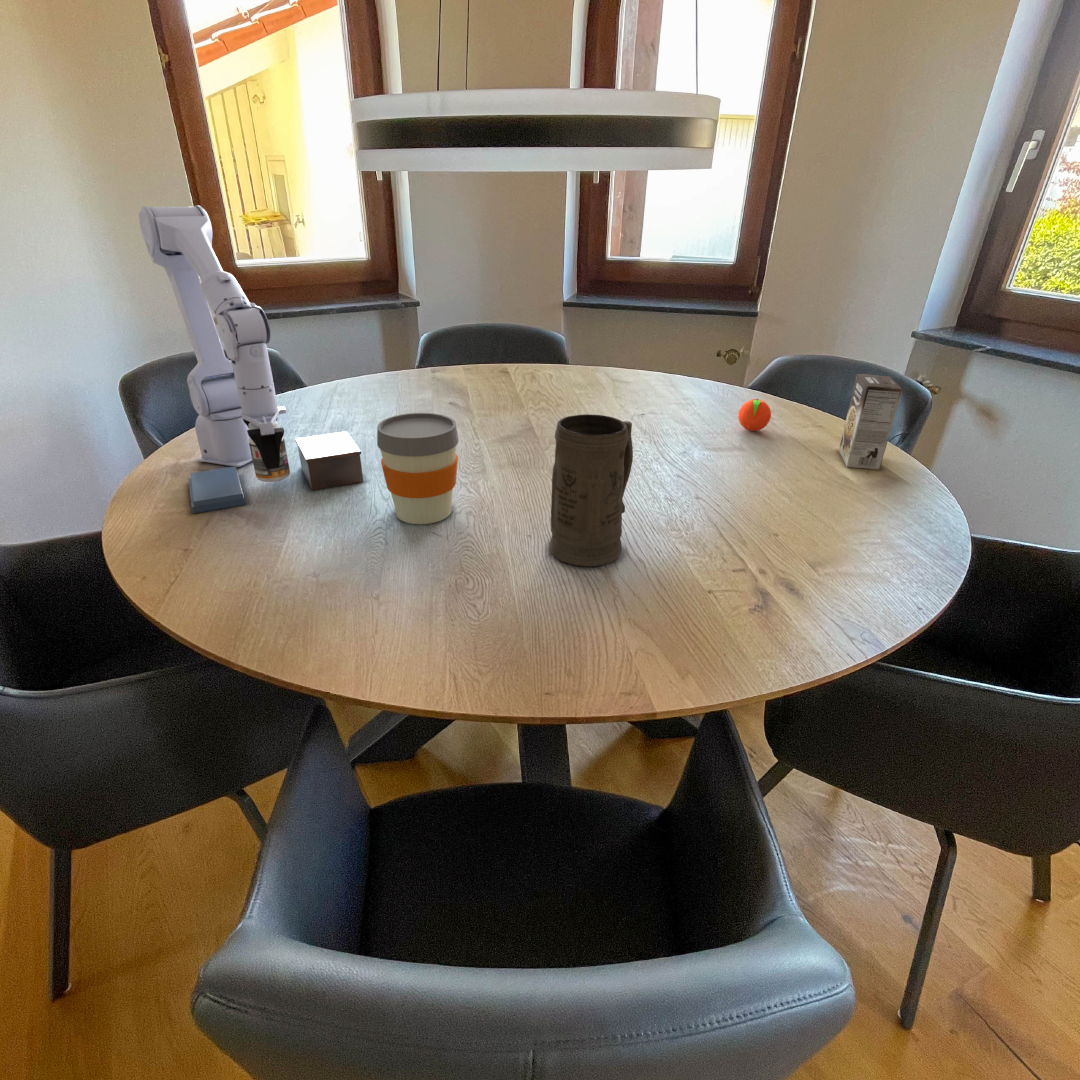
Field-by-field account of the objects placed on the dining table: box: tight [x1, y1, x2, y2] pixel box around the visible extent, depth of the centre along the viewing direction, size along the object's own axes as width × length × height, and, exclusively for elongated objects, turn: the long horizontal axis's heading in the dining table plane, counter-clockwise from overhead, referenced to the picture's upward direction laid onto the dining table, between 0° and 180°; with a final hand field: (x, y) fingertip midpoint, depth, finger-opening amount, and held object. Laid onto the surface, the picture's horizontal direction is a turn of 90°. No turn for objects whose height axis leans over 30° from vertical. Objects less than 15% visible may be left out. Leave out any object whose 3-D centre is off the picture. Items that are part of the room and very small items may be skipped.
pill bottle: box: [249, 420, 291, 483], centre depth 114 cm, size 6×6×10 cm
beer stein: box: [549, 413, 634, 567], centre depth 95 cm, size 15×11×20 cm
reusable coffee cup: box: [376, 412, 460, 525], centre depth 105 cm, size 13×13×15 cm
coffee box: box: [838, 373, 904, 470], centre depth 128 cm, size 9×6×16 cm
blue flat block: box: [188, 466, 246, 514], centre depth 113 cm, size 8×13×2 cm, turn 27°
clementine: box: [737, 398, 772, 432], centre depth 145 cm, size 8×7×7 cm
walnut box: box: [294, 431, 364, 491], centre depth 120 cm, size 9×11×6 cm
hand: (270, 461), depth 115 cm, fingers closed on pill bottle, 5 cm apart
